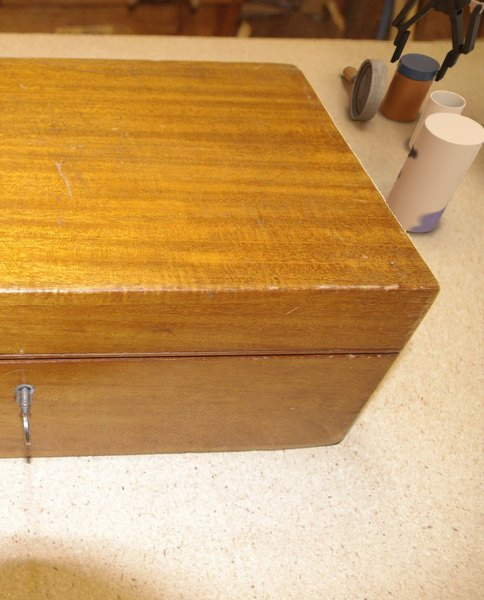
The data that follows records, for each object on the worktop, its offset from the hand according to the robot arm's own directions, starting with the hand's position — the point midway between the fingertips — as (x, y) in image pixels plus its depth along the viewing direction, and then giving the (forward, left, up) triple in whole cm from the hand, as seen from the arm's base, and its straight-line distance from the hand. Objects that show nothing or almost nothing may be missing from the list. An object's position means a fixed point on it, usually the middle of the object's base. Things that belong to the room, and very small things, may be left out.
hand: (416, 69), depth 154 cm
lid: (0, 0, +1) cm, 1 cm away
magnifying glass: (+9, +4, -11) cm, 14 cm away
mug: (-10, +8, -11) cm, 17 cm away
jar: (0, 0, -10) cm, 10 cm away
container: (-20, +33, -11) cm, 40 cm away
